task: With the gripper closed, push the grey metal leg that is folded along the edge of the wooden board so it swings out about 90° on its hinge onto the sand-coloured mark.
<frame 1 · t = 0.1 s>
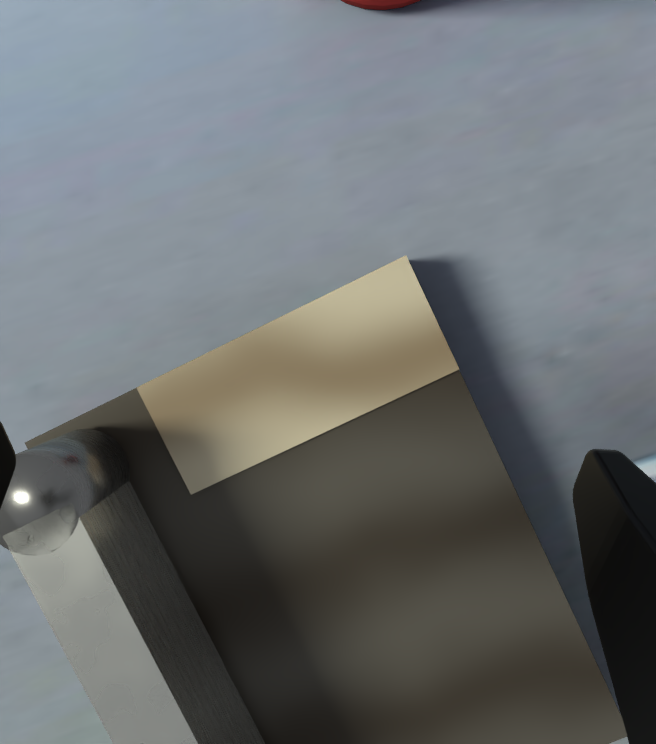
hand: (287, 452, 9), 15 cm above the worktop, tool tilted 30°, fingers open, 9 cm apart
wooden board: (329, 566, 25), on the worktop
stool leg: (156, 668, 21), point 5 cm above the worktop, hinge at 0.0°
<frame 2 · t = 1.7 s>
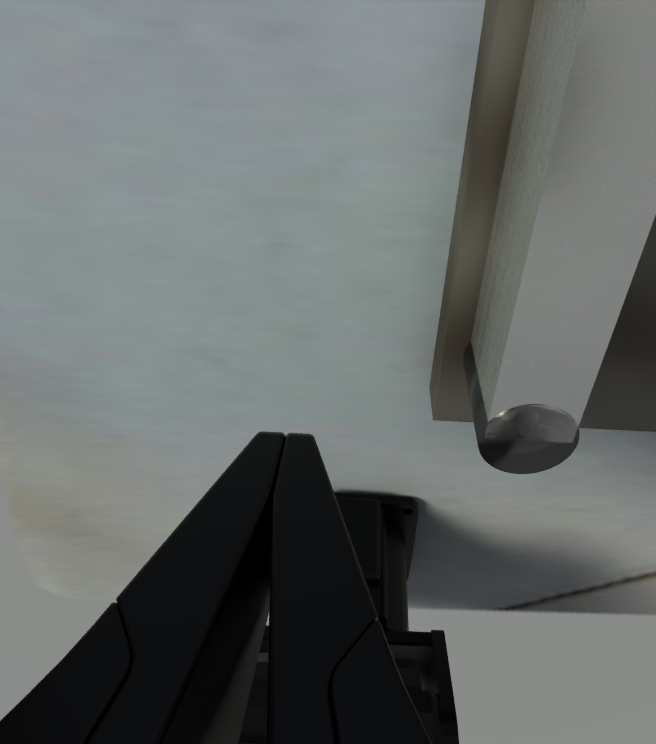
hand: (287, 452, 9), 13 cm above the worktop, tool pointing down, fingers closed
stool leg: (578, 159, 14), point 5 cm above the worktop, hinge at 0.0°
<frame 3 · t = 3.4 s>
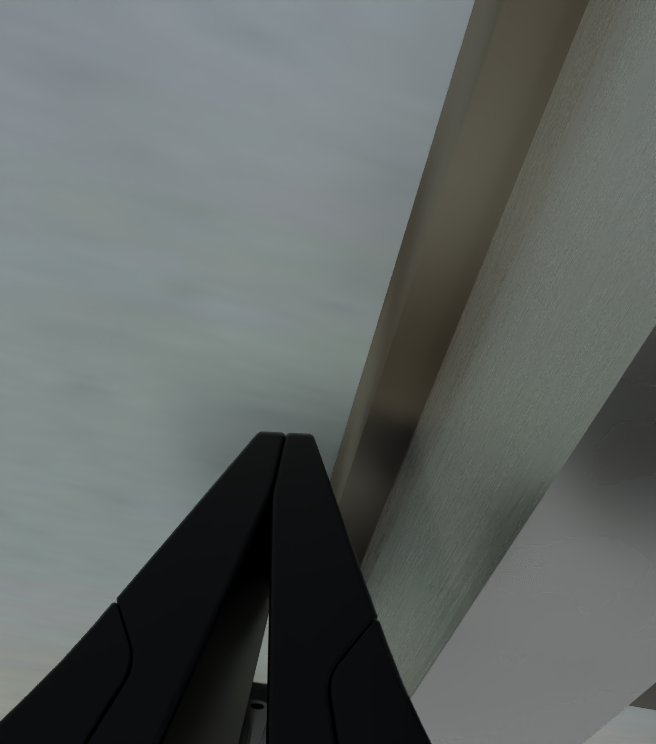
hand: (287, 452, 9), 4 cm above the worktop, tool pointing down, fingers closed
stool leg: (560, 457, 8), point 5 cm above the worktop, hinge at 0.0°, touching gripper
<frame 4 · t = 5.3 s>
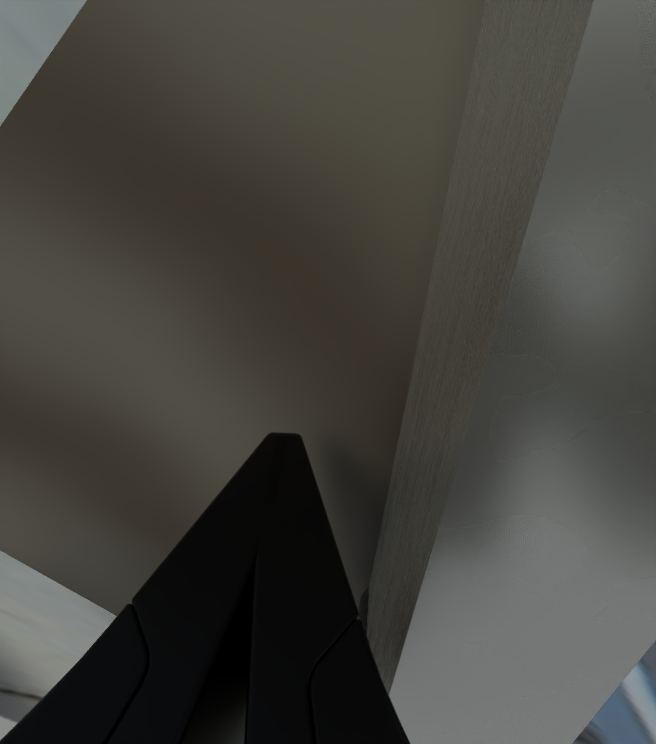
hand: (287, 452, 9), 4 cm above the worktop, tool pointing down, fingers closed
wooden board: (401, 377, 13), on the worktop
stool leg: (523, 440, 7), point 4 cm above the worktop, hinge at 43.4°, touching gripper
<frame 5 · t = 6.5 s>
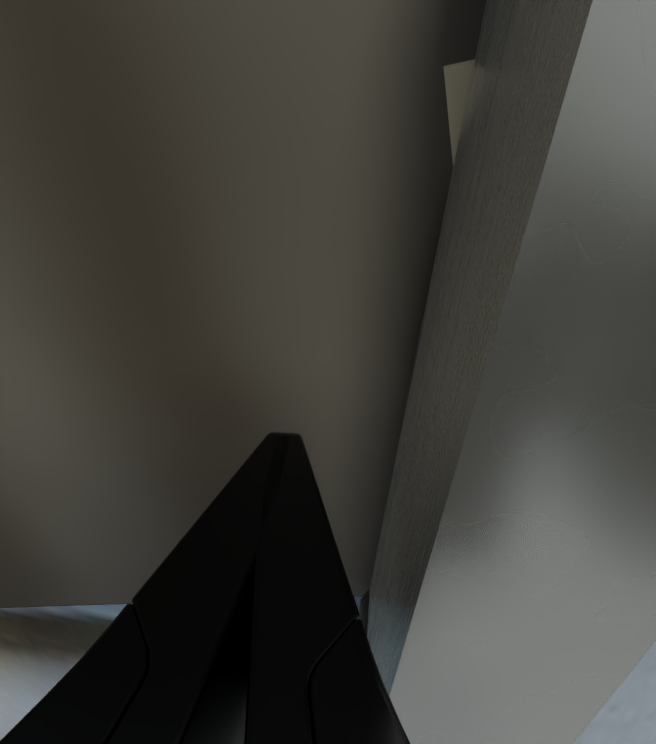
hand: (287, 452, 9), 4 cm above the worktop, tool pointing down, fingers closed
wooden board: (168, 273, 12), on the worktop
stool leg: (524, 438, 7), point 4 cm above the worktop, hinge at 73.5°, touching gripper
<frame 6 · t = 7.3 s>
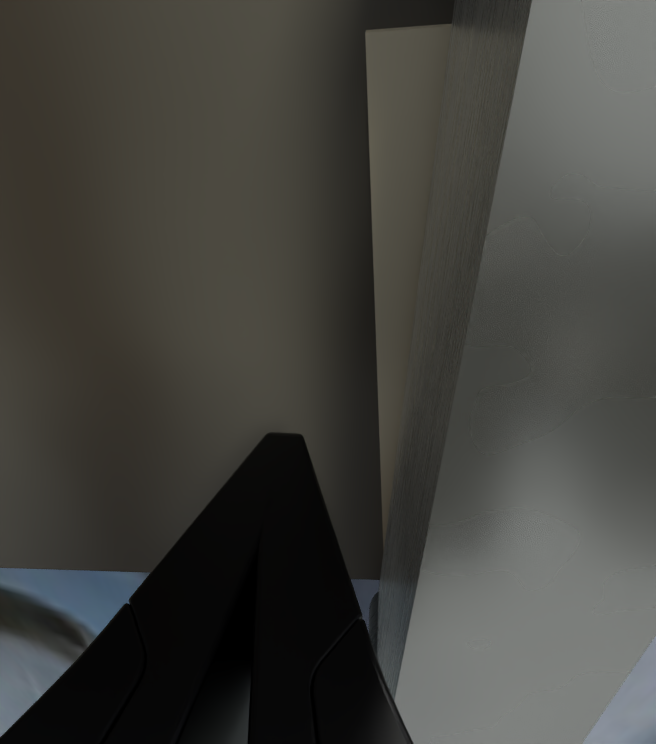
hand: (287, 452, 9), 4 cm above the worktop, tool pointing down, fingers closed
wooden board: (78, 220, 11), on the worktop
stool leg: (517, 434, 7), point 4 cm above the worktop, hinge at 84.3°, touching gripper
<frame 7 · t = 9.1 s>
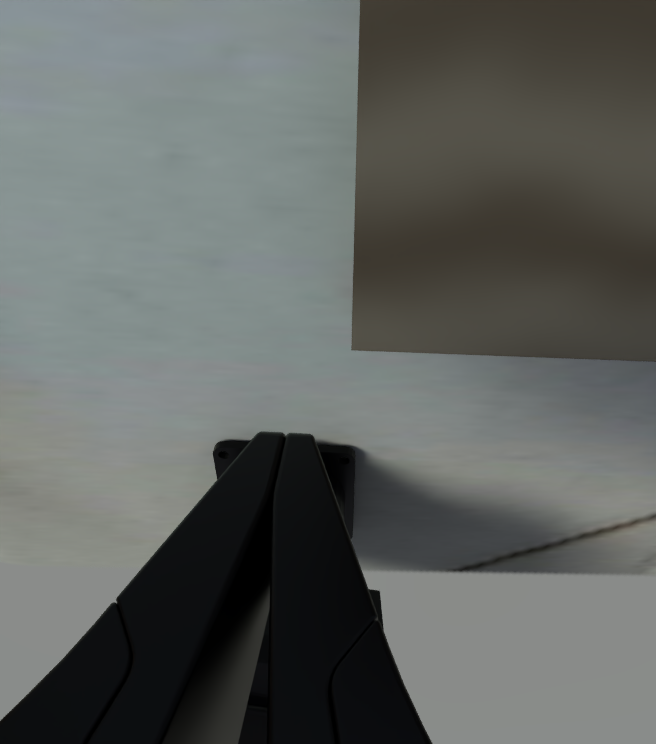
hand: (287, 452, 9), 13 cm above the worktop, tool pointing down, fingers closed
wooden board: (654, 22, 16), on the worktop
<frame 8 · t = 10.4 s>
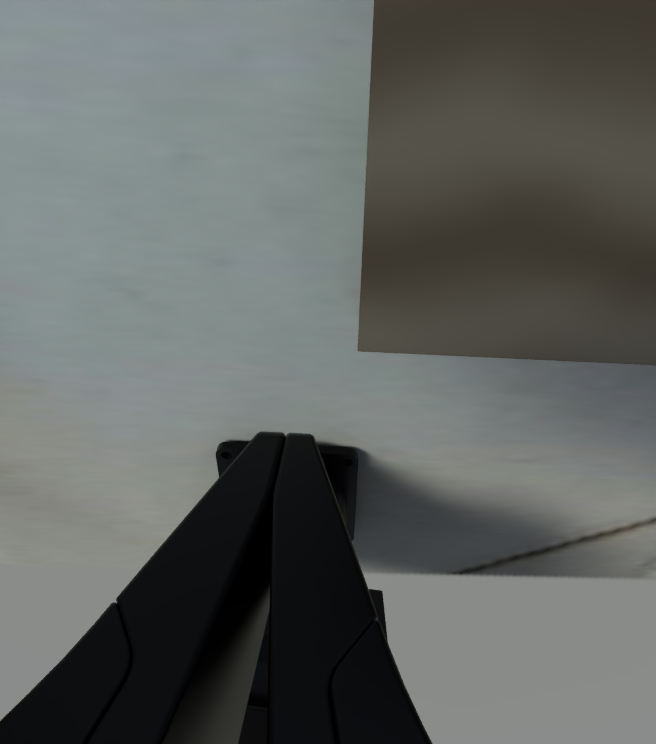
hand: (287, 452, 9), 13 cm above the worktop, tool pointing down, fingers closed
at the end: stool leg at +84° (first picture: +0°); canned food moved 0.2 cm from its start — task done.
